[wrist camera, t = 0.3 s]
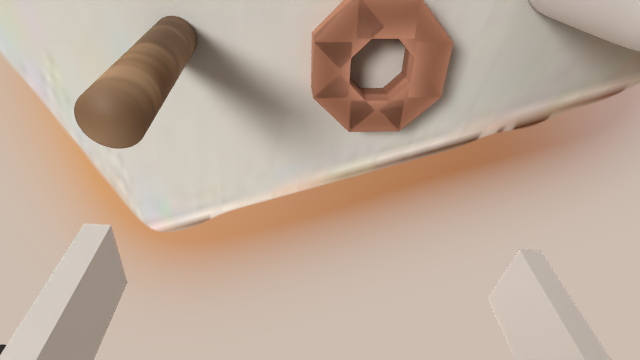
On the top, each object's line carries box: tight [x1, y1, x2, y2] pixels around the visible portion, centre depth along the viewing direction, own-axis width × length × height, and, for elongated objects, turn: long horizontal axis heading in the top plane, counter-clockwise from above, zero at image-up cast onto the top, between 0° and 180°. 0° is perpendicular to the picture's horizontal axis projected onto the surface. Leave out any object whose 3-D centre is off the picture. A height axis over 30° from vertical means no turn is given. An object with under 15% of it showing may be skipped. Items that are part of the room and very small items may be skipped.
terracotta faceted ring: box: [311, 0, 453, 132], centre depth 35 cm, size 12×12×3 cm
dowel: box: [74, 16, 197, 148], centre depth 27 cm, size 4×4×16 cm
